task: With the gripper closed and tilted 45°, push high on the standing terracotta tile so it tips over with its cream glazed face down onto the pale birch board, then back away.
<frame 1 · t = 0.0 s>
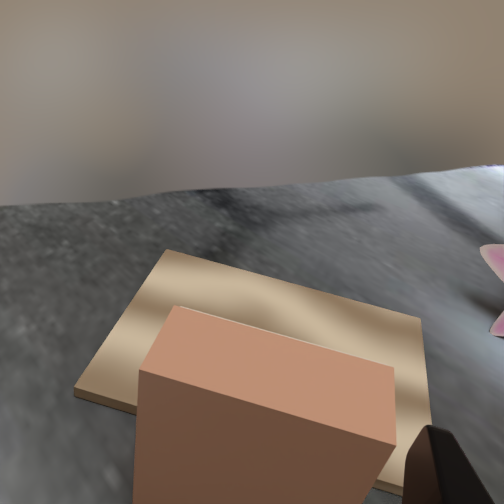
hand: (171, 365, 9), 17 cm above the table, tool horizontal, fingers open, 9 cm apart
glazed tile: (234, 503, 23), on the table
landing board: (271, 355, 32), on the table
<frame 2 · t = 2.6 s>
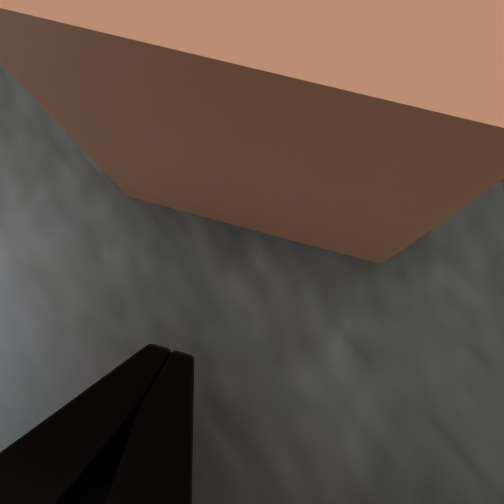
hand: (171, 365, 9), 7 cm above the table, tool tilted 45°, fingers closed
glazed tile: (265, 182, 17), on the table
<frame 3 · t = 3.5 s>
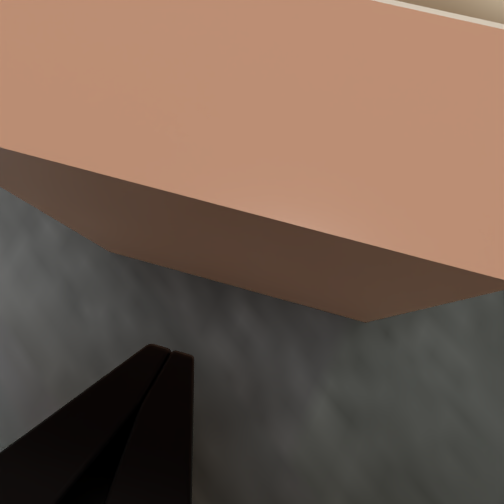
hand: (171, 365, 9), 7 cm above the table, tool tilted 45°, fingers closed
glazed tile: (248, 237, 17), on the table
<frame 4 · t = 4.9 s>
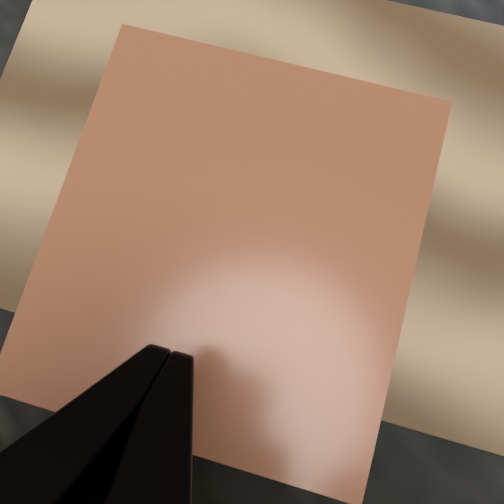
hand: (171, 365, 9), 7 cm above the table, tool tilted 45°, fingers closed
glazed tile: (181, 433, 13), point 3 cm above the table, tilted 90°, touching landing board
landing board: (268, 171, 17), on the table
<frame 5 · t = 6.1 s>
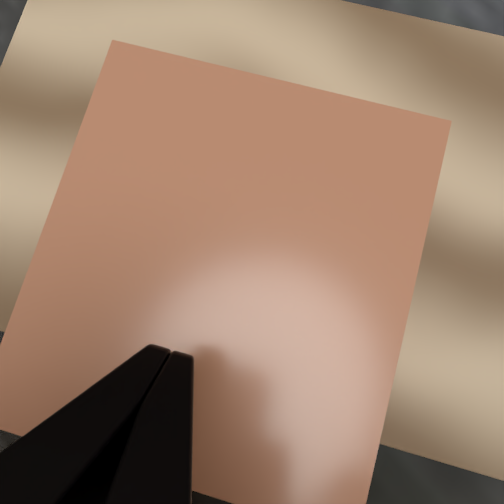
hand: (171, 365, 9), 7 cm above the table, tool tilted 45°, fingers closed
glazed tile: (173, 460, 12), point 3 cm above the table, tilted 90°, touching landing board
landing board: (264, 186, 17), on the table
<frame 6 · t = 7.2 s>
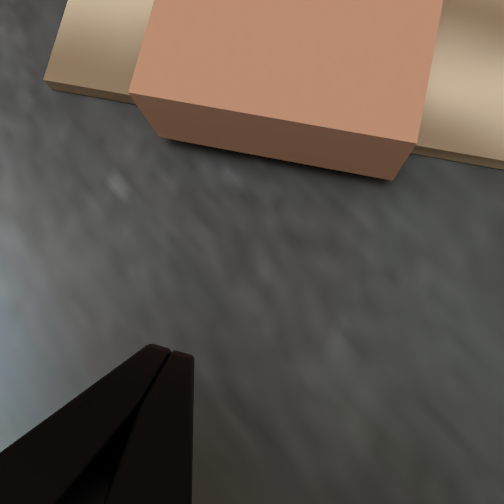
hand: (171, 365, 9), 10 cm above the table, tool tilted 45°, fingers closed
glazed tile: (270, 139, 16), point 3 cm above the table, tilted 90°, touching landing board
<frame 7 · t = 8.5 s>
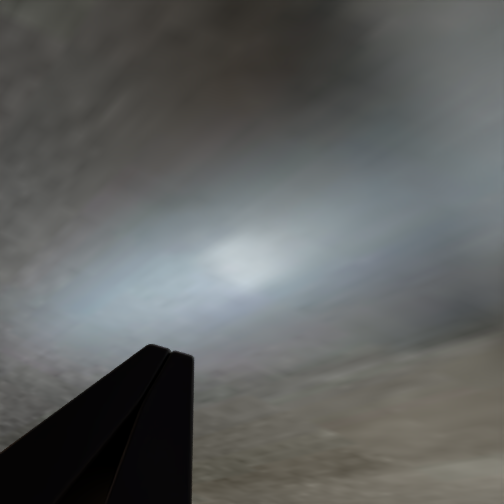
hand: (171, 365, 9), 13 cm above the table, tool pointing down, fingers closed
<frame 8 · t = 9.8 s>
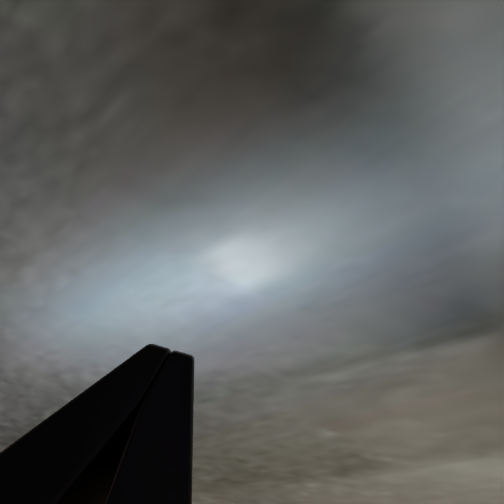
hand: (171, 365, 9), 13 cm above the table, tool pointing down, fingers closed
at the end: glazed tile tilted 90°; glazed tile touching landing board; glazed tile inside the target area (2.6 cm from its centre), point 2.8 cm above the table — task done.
